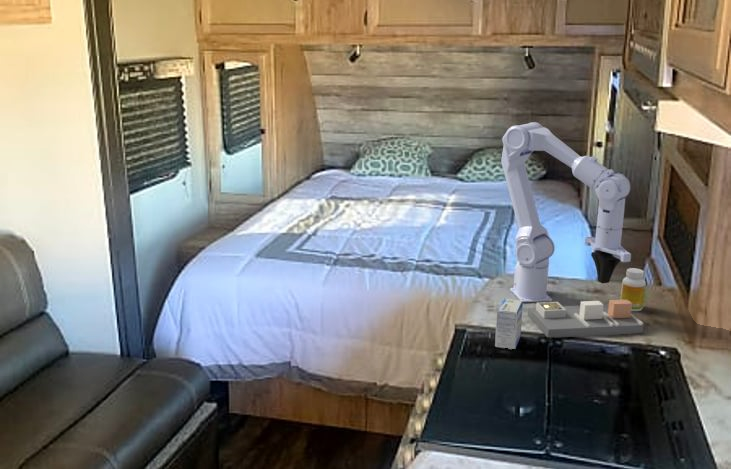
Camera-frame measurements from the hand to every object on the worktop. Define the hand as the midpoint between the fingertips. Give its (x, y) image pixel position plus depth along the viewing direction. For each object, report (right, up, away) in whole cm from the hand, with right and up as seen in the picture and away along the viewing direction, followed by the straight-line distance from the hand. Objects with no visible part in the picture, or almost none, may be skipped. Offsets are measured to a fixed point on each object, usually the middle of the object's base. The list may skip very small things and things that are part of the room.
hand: (603, 282), depth 176 cm
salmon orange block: (+2, -8, -4) cm, 9 cm away
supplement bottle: (+9, -7, +7) cm, 14 cm away
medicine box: (-25, -12, -13) cm, 31 cm away
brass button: (-13, -7, -2) cm, 15 cm away
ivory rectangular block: (-4, -8, -5) cm, 10 cm away
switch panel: (-6, -10, -3) cm, 12 cm away
